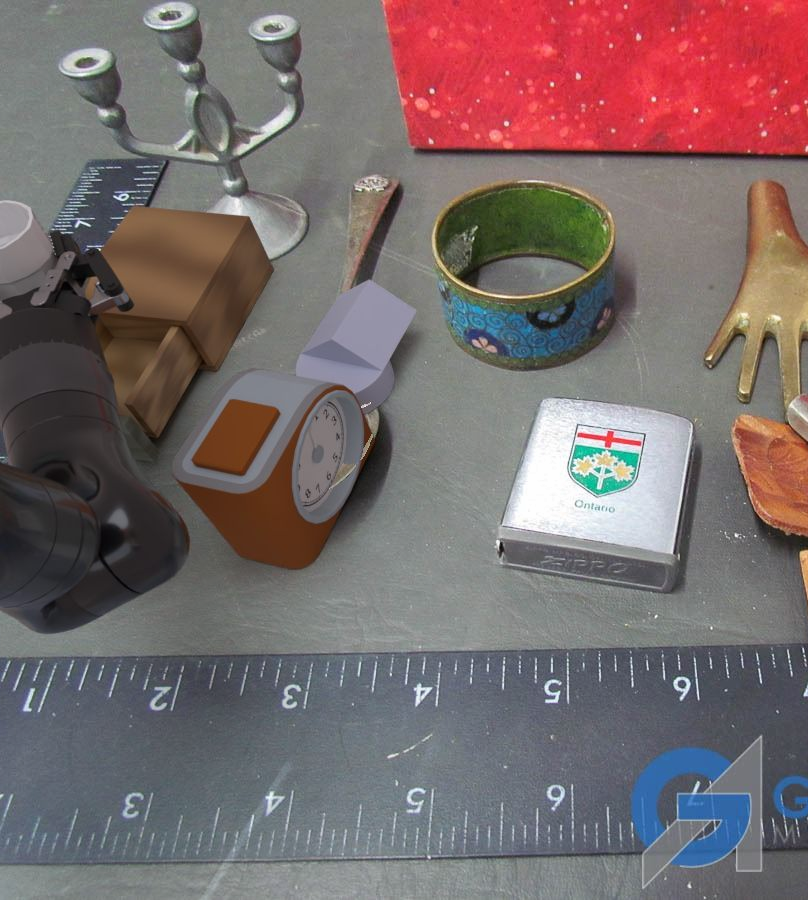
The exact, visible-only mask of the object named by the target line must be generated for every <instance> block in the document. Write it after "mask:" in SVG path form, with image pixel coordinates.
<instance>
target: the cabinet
mask: <svg viewBox="0 0 808 900" xmlns="http://www.w3.org/2000/svg"><path fill="white" fill-rule="evenodd" d="M255 227H256V226H254V223H253V220H252V219H251V217H250V216H249V215H241V214H240V215H239V214H228V213H218V212H206V211H197V210H196V211H194V210H185V209H183V210H182V209H174V208H162V207H161V208H160V207H150V206H139V205H133V206H131V208H130V210H129V211H128V212H127V213H126V214H125V216H124V217H123V219H122V220H121V221H120V223H119V224H118V226H117V227H116V228H115V229H114V231H113V233H112V234H111V235H110V236H109V238H108V239H107V241H106V242H105V243H104V244H103V246H102V247H101V248H100V249H99V251H100V252H101V253H102V255H103V256H104V258H105V259H106V261H107V262H108V264H109V265H110V267H111V268H112V270H113V271H114V273H115V274H116V276H117V277H118V279H119V281H120V282H121V284H122V285H123V287H124V289H125V290H126V292H127V293H128V295H129V297H130V298H131V300H132V301H133V303H134V307H133V308H132V309H131V310H129V311H127V312H121V311H119V309H118V308H117V306H116V307H114V308H112V309H109V310H107V311H105V312H103V313H101V314H99V317H106V318H115V319H125V320H134V321H143V322H153V323H162V324H171V325H181V326H183V328H184V329H185V331H186V333H187V334H188V336H189V337H190V339H191V340H192V342H193V344H194V345H195V347H196V348H197V350H198V351H199V353H200V354H201V356H202V358H203V360H202V362H201V363H200V365H199V367H198V369H197V370H200V371H201V370H202V371H212V372H218V371H219V370H220V367H221V366H222V365H223V362H224V360H225V359H226V357H227V356H228V353H229V351H230V350H231V348H232V346H233V344H234V342H235V340H236V338H237V337H238V335H239V333H240V331H241V330H242V328H243V326H244V324H245V322H246V321H247V318H248V317H249V315H250V313H251V312H252V309H254V306H255V304H256V302H257V300H258V299H259V298H260V295H261V294H262V291H263V290H264V288H265V286H266V285H267V282H268V281H269V279H270V277H271V275H272V274H273V271H274V270H275V268H274V266H273V264H272V262H271V260H270V258H269V256H268V253H267V251H266V248H265V247H264V245H263V242H262V241H261V238H260V236H259V233H258V232H257V229H256V228H255ZM97 280H98V278H97V277H91V278H90V281H89V283H88V286H87V288H86V290H85V294H86V298H87V299H88V300H90V299H91V298H92V297H93V296H94V289H95V288H96V286H95V285H94V282H95V281H97Z"/></svg>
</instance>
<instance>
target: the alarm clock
mask: <svg viewBox="0 0 808 900" xmlns="http://www.w3.org/2000/svg"><path fill="white" fill-rule="evenodd" d="M365 415H366V414H364V413H363V411H362V408H361V406H360V404H359V401H358V400H357V398H356V396H355V395H354V393H353V392H352V391H351V390H350V389H348V388H347V387H346V386H344V385H342V384H337V383H332V382H326V381H321V380H316V379H311V378H305V377H300V376H296V374H295V375H294V374H289V373H283V372H278V371H274V370H269V369H262V368H254V367H253V368H248V369H245V370H242V371H238V372H237V373H236V374H235V375H233V376H232V377H230V378H229V379H228V380H227V381H225V383H224V384H223V385H222V387H221V388H220V389H218V391H217V392H216V394H215V395H214V397H213V398H212V400H211V401H210V403H209V404H208V406H207V407H206V409H205V410H204V412H203V413H202V415H201V416H200V418H199V420H198V421H197V423H196V424H195V426H194V427H193V429H192V431H191V432H190V433H189V434H188V436H187V438H186V439H185V441H184V442H183V443H182V446H181V447H180V449H179V450H178V452H177V453H176V455H175V457H174V458H173V460H172V462H171V463H172V464H171V473H172V476H173V478H174V479H175V481H176V482H177V483H178V484H179V486H180V487H181V488H182V489H183V490H184V492H185V493H186V494H187V496H189V498H190V499H191V500H192V502H194V504H195V505H196V506H197V508H198V509H199V510H200V511H201V512H202V513H203V514H204V516H205V517H206V518H207V520H208V521H209V522H210V523H211V525H212V526H214V528H215V529H216V530H217V531H218V533H219V534H220V535H221V536H222V537H223V538H224V540H225V541H226V542H227V543H228V545H229V546H230V547H231V548H232V549H233V550H234V551H235V553H236V555H238V556H240V558H243V559H246V560H249V561H254V562H257V563H263V564H265V565H266V564H267V565H271V566H276V567H280V568H284V569H288V570H298V569H303V568H305V567H308V566H309V565H310V564H312V563H313V562H314V561H316V560H317V558H318V557H319V555H320V553H321V552H322V549H323V547H324V546H325V544H326V542H327V539H328V538H329V535H330V534H331V531H332V529H333V528H334V526H335V523H336V522H337V519H338V517H339V515H340V513H341V512H342V510H343V507H344V505H345V504H346V501H347V500H348V497H350V494H351V493H352V491H353V487H354V486H355V483H356V481H357V479H358V478H359V475H360V473H361V471H362V469H363V467H364V465H365V462H367V459H368V458H369V455H370V452H371V451H372V449H373V446H374V445H375V443H376V439H375V437H374V435H373V438H372V440H371V442H370V446H369V448H368V450H367V452H366V454H365V456H364V457H363V459H362V460H360V459H361V457H362V453H363V448H364V447H365V445H366V443H367V442H368V440H369V438H370V436H371V434H373V432H372V429H371V426H370V425H369V423H368V420H367V418H366V416H365ZM343 463H344V464H346V463H347V464H349V465H350V464H353V463H354V465H355V464H356V467H355V468H354V470H353V471H352V472H351V473H350V475H349V476H348V477H347V478H345V479H344V480H343V481H342V482H341V483H339V484H338V485H336V486H335V487H333V488H330V486H331V485H332V483H333V481H334V479H335V478H336V476H337V473H338V472H339V470H340V468H341V466H342V464H343ZM357 463H358V464H357ZM347 464H346V465H347ZM329 488H330V489H329Z"/></svg>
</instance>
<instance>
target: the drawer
mask: <svg viewBox="0 0 808 900" xmlns="http://www.w3.org/2000/svg"><path fill="white" fill-rule="evenodd" d="M96 332H97V335H98V338H99V341H100V344H101V347H102V350H103V354H104V357H105V360H106V363H107V366H108V369H109V371H110V373H111V374H112V377H113V379H114V383H115V384H114V388H115V392H116V396H117V402H118V413H119V418H120V421H121V424H122V427H123V431H124V434H125V437H126V440H127V442H128V446H129V448H130V451H131V453H132V455H133V457H134V459H135V460H136V461H144V462H145V461H147V462H153V463H155V461H156V459H157V458H158V456H159V454H160V453H161V452H160V450H159V448H157V446H156V445H155V444H154V442H152V440H151V439H150V438H156V439H158V438H159V437H160V435H161V433H162V432H163V430H164V429H165V427H166V426H167V425H166V424H168V421H169V419H170V418H171V416H172V414H173V413H174V411H175V410H176V408H177V406H178V403H179V402H180V400H181V399H182V397H183V395H184V393H185V392H186V390H187V388H188V387H189V384H190V382H191V381H192V379H193V377H194V376H195V374H196V372H197V371H198V370H199V369H198V367H199V365H200V363H201V362H202V360H203V358H202V356H201V354H200V353H199V351H198V350H197V348H196V347H195V345H194V344H193V342H192V340H191V339H190V337H189V336H188V334H187V333H186V331H185V329H184V328H183V326H181V325H171V324H162V323H153V322H143V321H134V320H125V319H115V318H106V317H99V319H98V322H97V324H96Z"/></svg>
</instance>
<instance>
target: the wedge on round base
mask: <svg viewBox="0 0 808 900" xmlns="http://www.w3.org/2000/svg"><path fill="white" fill-rule="evenodd" d="M417 312H418V310H417V309H415V308H414V307H412V306H411V305H410V304H409V303H406V302H405V301H404V300H402V299H400V298H399V297H397V296H396V295H394V294H392V293H391V292H390V291H388V290H386V289H385V288H384V287H382V286H380V285H379V284H377V283H376V282H374V281H373V280H372V279H367V280H365V281H363V282H361V283H359V284H358V285H356V286H354V287H352V288H350V289H348V290H346V291H344V292H342V293H341V294H338V296H337V298H336V299H335V300H334V302H333V303H332V305H331V307H330V308H329V309H328V311H327V313H326V314H325V316H324V317H323V318H322V320H321V322H320V324H319V325H318V327H317V328H316V330H315V331H314V333H313V334H312V336H311V338H310V339H309V340H308V343H307V344H305V347H304V348H303V350H302V351H301V353H300V355H299V357H298V358H297V361H296V364H295V376H300V377H305V378H311V379H316V380H321V381H326V382H332V383H337V384H342V385H344V386H346V387H347V388H348V389H350V390H351V391H352V392H353V393H354V395H355V396H356V398H357V400H358V401H359V404H360V406H362V405H364V404H368V403H370V402H371V404H370V405H368V406H366V407H364V408H362V411H363V413H364V415H366V414H368V413H371V412H372V411H374V410H375V409H377V408H378V407H380V406H381V405H382V404H383V403H384V402H385V401H386V400H387V399H388V398H389V396H390V394H391V393H392V391H393V390H394V386H395V381H396V380H395V379H396V378H395V371H394V368H393V365H392V362H391V360H390V359H391V358H392V356H393V354H394V352H395V350H396V349H397V348H398V345H399V344H400V342H401V340H402V338H403V336H404V335H405V333H406V331H407V330H408V328H409V326H410V324H411V322H412V321H413V319H414V317H415V315H416V313H417Z"/></svg>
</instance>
